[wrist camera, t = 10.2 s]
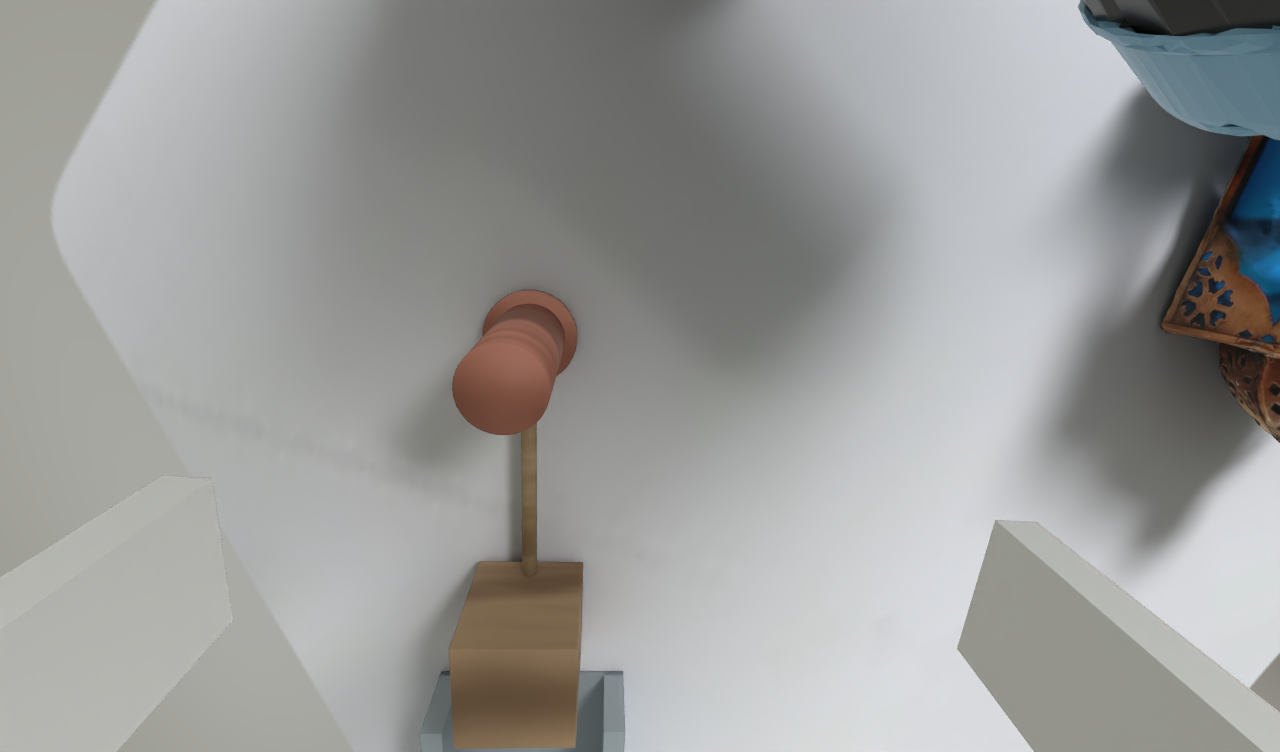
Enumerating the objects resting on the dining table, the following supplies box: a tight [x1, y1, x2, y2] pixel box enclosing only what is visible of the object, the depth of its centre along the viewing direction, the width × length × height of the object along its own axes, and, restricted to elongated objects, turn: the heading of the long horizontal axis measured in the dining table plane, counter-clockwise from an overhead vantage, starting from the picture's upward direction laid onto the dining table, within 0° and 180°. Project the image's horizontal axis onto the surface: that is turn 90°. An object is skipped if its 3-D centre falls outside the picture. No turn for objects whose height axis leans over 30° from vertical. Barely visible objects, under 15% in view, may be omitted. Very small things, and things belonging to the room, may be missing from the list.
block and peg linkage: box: [449, 290, 583, 749], centre depth 29 cm, size 22×6×9 cm, turn 177°
